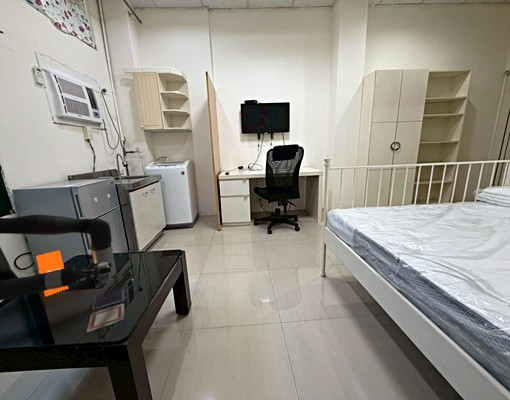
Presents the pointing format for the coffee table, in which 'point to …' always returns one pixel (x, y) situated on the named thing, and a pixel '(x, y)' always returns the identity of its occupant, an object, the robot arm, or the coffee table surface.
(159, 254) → the coffee table surface
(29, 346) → the coffee table surface
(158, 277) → the coffee table surface
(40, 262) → the orange juice
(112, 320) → the marked board
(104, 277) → the pill bottle
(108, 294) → the ink pad
